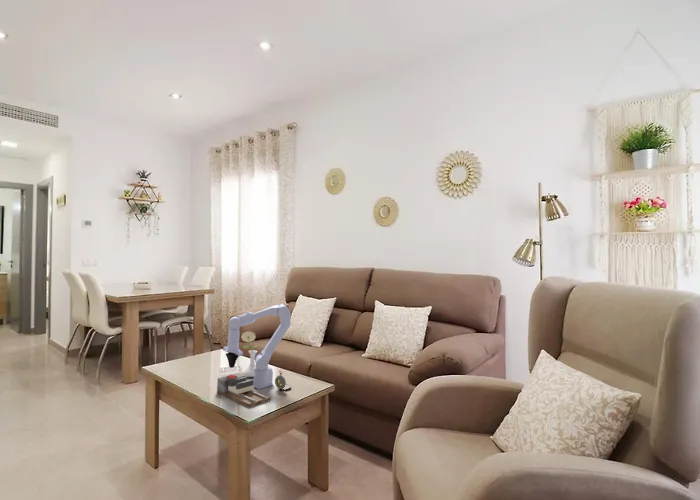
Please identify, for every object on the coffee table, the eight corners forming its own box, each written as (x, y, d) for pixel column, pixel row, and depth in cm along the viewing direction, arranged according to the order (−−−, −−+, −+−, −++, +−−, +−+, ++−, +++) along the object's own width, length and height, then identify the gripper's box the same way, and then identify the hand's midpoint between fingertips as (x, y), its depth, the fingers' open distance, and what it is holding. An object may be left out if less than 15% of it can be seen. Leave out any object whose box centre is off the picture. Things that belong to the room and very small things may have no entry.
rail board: (237, 386, 195) (238, 372, 195) (270, 400, 178) (270, 385, 179) (217, 392, 186) (217, 378, 186) (248, 407, 169) (249, 392, 169)
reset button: (232, 382, 191) (232, 374, 191) (236, 383, 189) (237, 375, 189) (226, 383, 188) (226, 375, 188) (230, 385, 186) (230, 377, 186)
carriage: (244, 385, 189) (244, 376, 189) (253, 389, 184) (254, 380, 184) (228, 389, 182) (228, 380, 182) (237, 394, 177) (238, 384, 177)
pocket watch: (291, 386, 198) (292, 367, 198) (289, 392, 190) (290, 372, 190) (276, 386, 198) (277, 367, 198) (273, 391, 189) (274, 372, 190)
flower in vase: (264, 373, 218) (266, 330, 218) (258, 379, 206) (260, 334, 207) (243, 371, 219) (245, 328, 219) (235, 377, 208) (237, 332, 208)
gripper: (218, 339, 195) (217, 365, 195) (234, 344, 186) (233, 372, 185) (230, 337, 200) (229, 362, 200) (246, 342, 191) (245, 369, 191)
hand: (231, 367), depth 193 cm, fingers closed
